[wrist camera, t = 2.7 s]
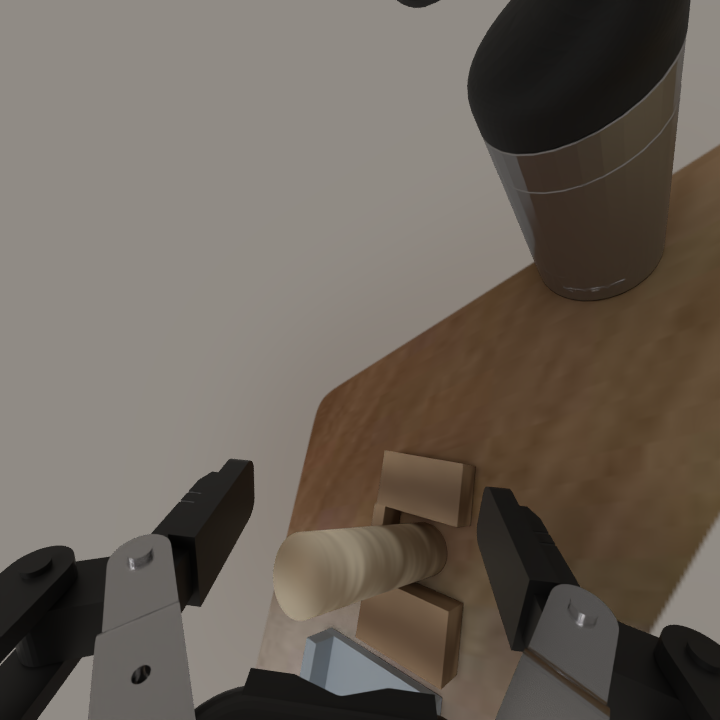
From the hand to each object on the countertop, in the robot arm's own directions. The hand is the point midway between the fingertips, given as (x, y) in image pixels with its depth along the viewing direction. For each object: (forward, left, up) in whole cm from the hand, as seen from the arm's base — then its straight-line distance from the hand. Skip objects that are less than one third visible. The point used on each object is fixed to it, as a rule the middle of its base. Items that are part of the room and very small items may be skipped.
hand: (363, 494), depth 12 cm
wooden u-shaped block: (+6, -8, -22) cm, 24 cm away
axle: (+6, -8, -22) cm, 24 cm away
